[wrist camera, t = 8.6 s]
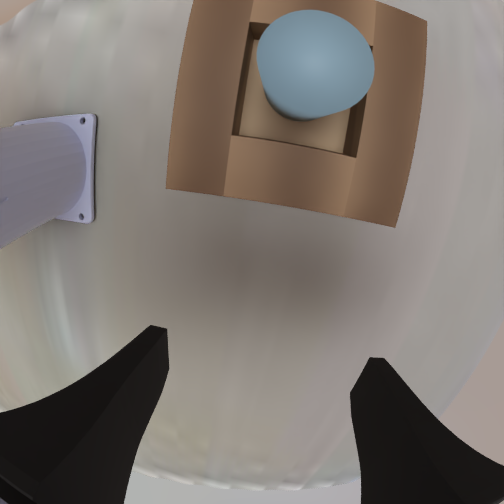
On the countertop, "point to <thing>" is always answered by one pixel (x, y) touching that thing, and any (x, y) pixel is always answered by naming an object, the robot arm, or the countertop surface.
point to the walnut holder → (293, 132)
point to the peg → (313, 65)
